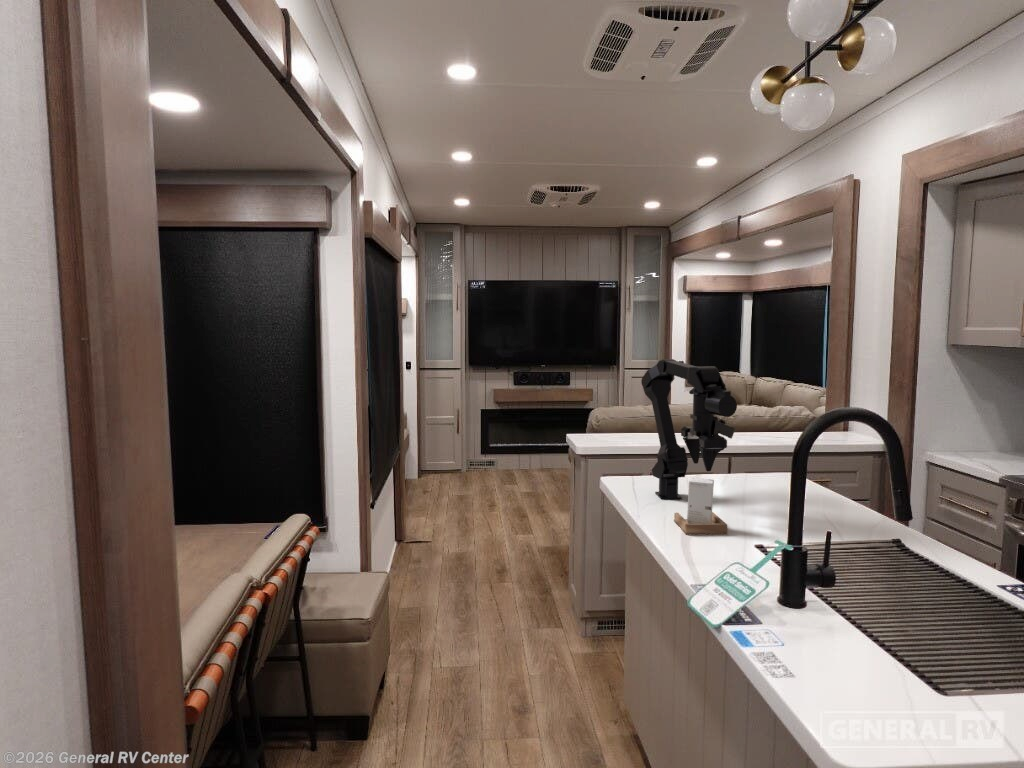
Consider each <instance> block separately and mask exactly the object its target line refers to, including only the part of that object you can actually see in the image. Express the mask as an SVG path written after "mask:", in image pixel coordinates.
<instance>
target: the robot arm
mask: <svg viewBox="0 0 1024 768" xmlns="http://www.w3.org/2000/svg"><path fill="white" fill-rule="evenodd" d="M675 377H678V378H680V379H683V380H686V382H687V384H688V385H690V386H691V387H693V388H692V389H691V390H689V392H688V393H689V394H690V395H692V396H693V398H692V400H693V401H692V413H690V414H689V418H690V419H692V426H691V425H689V426H688V425H686V426H683V427H682V428H681V429H680V435H681V437H682V440H683V441H684V444H685V446H686V448H687V450H688V453H689V454H690V457H691V459H692V462H693V464H699V460H700V454H701V459H702V461H703V465H704V467H705V468H704V469H705V471H706V472H711V471H712V469H713V465H714V463H715V460H716V458H717V455H718V454H719V453H720V452H722V451H724V450H725V449H727V448H728V439H730V440H731V439H732V438H733V436H734V434H735V432H736V427H734V426H731V425H729V424H726V420H724V419H721V418H719V417H718V416H721V417H724V418H730V417H733V415H734V414H735V413H736V412H737V408H738V403H737V400H736V399H735V397H733V396H732V395H731V394H732V391H730V390H727V387H726V384H725V382H724V381H723V378H722V376H721V373H720V371H719V369H718V368H717V366H714V365H713V366H712V365H711V366H695V365H692V364H688V363H685V362H682V361H678V360H676V359H673V358H670V359H667V358H666V359H664V358H662V359H661V360H659V361H658V362H657V363H656V364H655V365H654V366H652V367H651V368H649V369H647V370H646V372H645V373H644V374H643V376H642V378H641V381H640V382H641V386H642V389H643V392H644V394H645V396H646V397H647V398H648V399H649V400H650V402H651V404H652V409H653V415H654V419H655V424H656V430H657V436H658V439H659V445H660V447H659V449H658V452H657V455H656V457H657V462H656V463H655V465H654V466H653V467H652V468H651V472H652V476H653V477H654V478H657V479H658V491H655V492H654V494H655V495H656V496H657V497H658V498H659V499H661V500H672V499H673V500H680V499H682V498H683V497H682V495H681V494H679V478H686V475H687V474H686V473H687V470H688V467H689V462H688V461H689V459H688V456H687V452H686V451H687V450H686V449H685V447H681V446H680V444H678V442H677V437H676V436H677V435H676V433H675V427H674V422H673V417H672V412H671V409H670V404H669V399H668V397H669V395H670V392H671V390H672V386H671V384H672V383H673V381H674V380H675ZM724 436H725V437H727V438H728V439H726V438H725V437H724Z"/></svg>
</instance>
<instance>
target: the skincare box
mask: <svg viewBox="0 0 1024 768" xmlns="http://www.w3.org/2000/svg"><path fill="white" fill-rule="evenodd" d="M714 484H715V481H714V479H709V478H708V479H707V478H701V477H692V476H690V478H689V481H688V495H687V515H686V519H687V522H688V523H689V524H712V512H713V502H714V501H713V500H714Z"/></svg>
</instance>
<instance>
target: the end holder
mask: <svg viewBox="0 0 1024 768" xmlns="http://www.w3.org/2000/svg"><path fill="white" fill-rule="evenodd" d="M673 515H674V517H673V522H674V524H676V525H677V527H678V528H679V527H680V528H681V529H680V528H679V529H680V530H681V531H682V532H683V533H684V534H685V535H687V534H711V535H728V524H727V523H726V522H725V521H724V520H723V519H721V518H720V517H719V516H718V515H717V514H716V513H715V512H713V511H712V524H689V523H688V522H687V518H684V517H683V516H682V515H681V514H680V513H679V512H674V514H673ZM687 536H688V535H687Z"/></svg>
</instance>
